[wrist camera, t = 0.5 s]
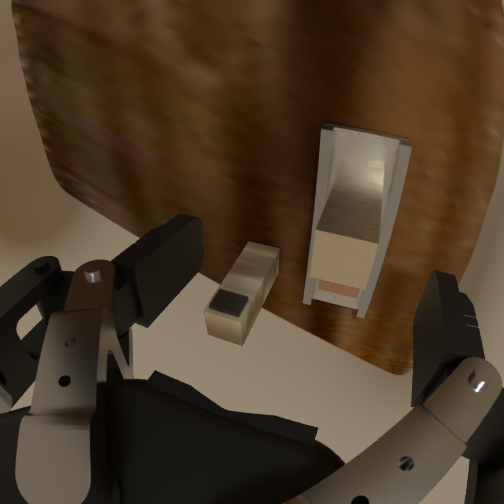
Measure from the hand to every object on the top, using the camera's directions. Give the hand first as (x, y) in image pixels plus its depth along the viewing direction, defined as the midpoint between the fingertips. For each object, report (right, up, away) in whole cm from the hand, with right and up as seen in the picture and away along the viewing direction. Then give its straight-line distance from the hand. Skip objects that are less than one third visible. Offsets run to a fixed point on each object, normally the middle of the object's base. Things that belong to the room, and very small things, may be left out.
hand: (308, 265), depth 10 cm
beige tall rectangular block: (0, 0, +30) cm, 30 cm away
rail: (+9, +3, +23) cm, 25 cm away
